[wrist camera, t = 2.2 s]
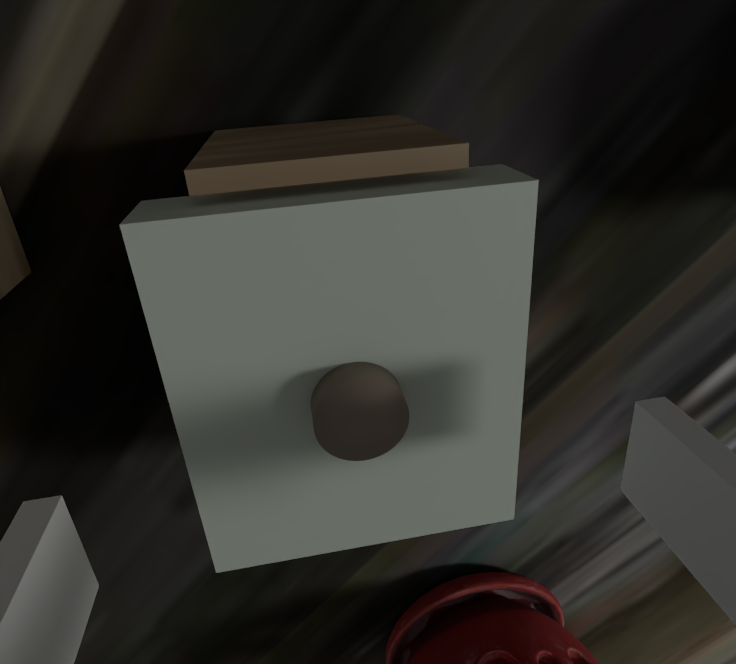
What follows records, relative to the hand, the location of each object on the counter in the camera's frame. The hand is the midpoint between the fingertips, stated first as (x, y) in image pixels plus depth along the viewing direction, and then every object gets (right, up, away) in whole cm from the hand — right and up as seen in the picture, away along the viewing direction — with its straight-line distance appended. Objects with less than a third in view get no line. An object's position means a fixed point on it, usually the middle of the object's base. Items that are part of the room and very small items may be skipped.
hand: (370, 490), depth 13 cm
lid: (-1, +3, +5) cm, 6 cm away
